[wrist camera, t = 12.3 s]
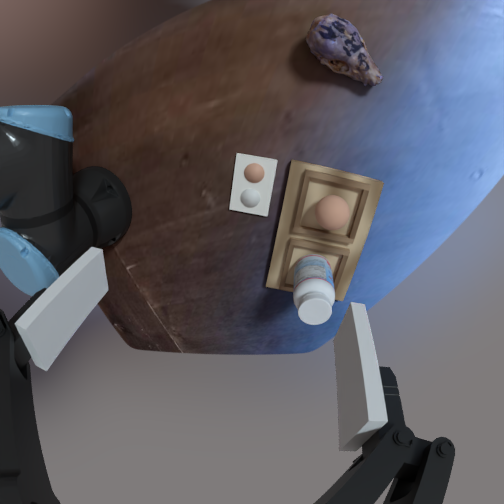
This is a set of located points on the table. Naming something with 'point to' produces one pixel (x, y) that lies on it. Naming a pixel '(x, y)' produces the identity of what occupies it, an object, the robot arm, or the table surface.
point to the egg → (332, 212)
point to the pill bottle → (313, 289)
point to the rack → (312, 233)
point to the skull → (342, 49)
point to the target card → (252, 184)
